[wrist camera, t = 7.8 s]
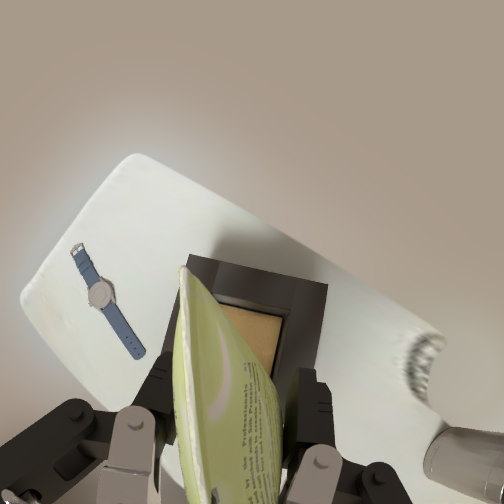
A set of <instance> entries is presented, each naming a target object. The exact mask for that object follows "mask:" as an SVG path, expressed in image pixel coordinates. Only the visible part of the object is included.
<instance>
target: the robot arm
mask: <svg viewBox="0 0 504 504" xmlns="http://www.w3.org/2000/svg"><path fill="white" fill-rule="evenodd" d="M332 413H333V407H332V395H331V392H330V390H329V388H328V386H327V385H326V383H322V382H317V378H316V370H315V369H311V368H304V367H297V368H296V370H295V373H294V376H293V378H292V381H291V384H290V386H289V389H288V392H287V396H286V401H285V414H284V428H283V463H282V468H284V469H287V478H286V479H285V481H284V483H283V485H282V487H281V490H280V493H279V501H278V504H413V503H412V502H411V500H410V498H409V496H408V494H407V492H406V490H405V488H404V487H403V485H402V483H401V481H400V479H399V477H398V476H397V474H396V472H395V470H394V469H393V468H392V467H391V466H390V465H389V464H387V463H384V462H374V463H371V464H369V465H368V466H367V467H366V466H363V465H360V464H356V463H353V462H350V461H348V460H346V459H344V458H343V457H342V456H341V455H340V453H339V452H338V451H337V449H336V446H335V434H334V420H333V414H332ZM176 435H177V432H176V422H175V412H174V400H173V352H170V351H166V352H164V353H163V354H162V355H160V356H159V357H158V358H157V359H156V361H155V363H154V365H153V367H152V368H151V370H150V372H149V374H148V376H147V377H146V379H145V381H144V383H143V385H142V386H141V388H140V390H139V392H138V394H137V396H136V397H135V399H134V401H133V403H132V404H131V405H130V406H128V407H125V408H123V409H121V410H120V411H119V412H105V411H97V410H93V408H92V407H91V405H90V404H89V403H88V402H86V401H84V400H82V399H76V398H75V399H69V400H67V401H65V402H64V403H62V404H61V405H59V406H58V407H56V408H55V409H54V410H52V411H51V412H49V413H48V414H47V415H45V416H44V417H42V418H41V419H40V420H38V421H37V422H35V423H34V424H32V425H31V426H30V427H28V428H27V429H25V430H24V431H22V432H21V433H20V434H18V435H17V436H16V437H14V438H13V439H11V440H10V441H8V442H7V443H5V444H4V445H2V446H1V447H0V504H52V503H54V502H55V501H56V500H57V499H59V498H60V497H61V496H62V495H63V494H65V493H66V492H67V491H68V490H70V489H71V488H72V487H73V486H74V485H76V484H77V483H78V482H79V481H80V480H82V479H83V478H84V477H85V476H86V475H88V474H89V473H90V472H91V471H92V470H93V469H95V468H96V467H97V466H98V465H99V464H100V463H102V462H103V461H104V460H108V462H107V465H106V466H104V467H103V468H102V470H101V473H100V478H99V485H98V492H97V501H96V504H161V499H160V479H161V478H160V476H161V454H162V451H163V449H164V446H165V444H169V445H172V446H173V443H174V441H175V438H176ZM424 472H425V475H426V476H427V477H428V478H429V479H431V480H433V481H435V482H437V483H439V484H442V485H444V486H446V487H448V488H451V489H453V490H455V491H458V492H460V493H463V494H465V495H468V496H470V497H473V498H475V499H478V500H481V501H484V502H486V503H490V504H504V433H500V432H490V431H482V430H474V429H467V428H461V427H452V428H449V429H447V430H445V431H443V432H442V433H441V434H440V435H439V436H438V437H437V438H436V439H435V440H434V441H433V443H432V444H431V446H430V447H429V449H428V451H427V454H426V456H425V460H424Z"/></svg>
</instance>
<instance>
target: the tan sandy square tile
mask: <svg viewBox="0 0 504 504" xmlns="http://www.w3.org/2000/svg"><path fill="white" fill-rule="evenodd" d="M219 305H220V306H221V308H222V309H223V310H224V311H225V313H226V314H227V316H228V317H229V318H230V320H231V321H232V323H233V324H234V325H235V327H236V328H237V329H238V331H239V332H240V334H241V335H242V336H243V338H244V339H245V340H246V342H247V344H248V345H249V347H250V348H251V350H252V351H253V353H254V354H255V356H256V357H257V359H258V360H259V362H260V363H261V365H262V366H263V368H264V369H265V370H266V372H267V374H268V375H269V377H270V373H271V369H272V364H273V360H274V355H275V351H276V346H277V341H278V337H279V332H280V327H281V322H282V318H281V317H276V316H271V315H266V314H262V313H257V312H253V311H248V310H244V309H239V308H235V307H231V306H227V305H222V304H219Z"/></svg>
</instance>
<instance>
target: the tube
mask: <svg viewBox="0 0 504 504" xmlns="http://www.w3.org/2000/svg"><path fill="white" fill-rule="evenodd" d="M179 287H180V310H179V315H178V319H177V325H176V332H175V339H174V349H173V400H174V412H175V422H176V432H177V440H178V448H179V456H180V463H181V469H182V474H183V480H184V486H185V492H186V498H187V503H188V504H278V501H279V493H280V484H281V474H282V463H283V416H282V408H281V403H280V399H279V396H278V393H277V390H276V388H275V386H274V384H273V382H272V380H271V379H270V377H269V375H268V374H267V372H266V370H265V369H264V368H263V366H262V365H261V363H260V362H259V360H258V359H257V357H256V356H255V354H254V353H253V351H252V350H251V348H250V347H249V345H248V344H247V342H246V340H245V339H244V338H243V336H242V335H241V334H240V332H239V331H238V329H237V328H236V327H235V325H234V324H233V323H232V321H231V320H230V318H229V317H228V316H227V314H226V313H225V311H224V310H223V309H222V308H221V306H220V305H219V304H218V302H217V301H216V300H215V298H214V297H213V296H212V295H211V294H210V292H209V291H208V290H207V289H206V287H205V286H204V285H203V284H202V283H201V281H200V280H199V279H198V278H197V277H196V276H194V275H193V274H192V273H191V272H190V270H189V269H188V268H187V267H186V266H185V265H183V266H181V267H180V269H179Z"/></svg>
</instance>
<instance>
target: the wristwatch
mask: <svg viewBox="0 0 504 504" xmlns="http://www.w3.org/2000/svg"><path fill="white" fill-rule="evenodd" d="M81 245H82V243H80V244H77V245H75V246H74V247H73V249H72V250H71V252H70V254H71V256H72V257H73V258H74V260H75V262H76V266H77V268H79V272H80V274H81V275H82V276H83V278H84V280H85V282H86V284H87V285H88V287H87V289H88V299H89V303H88V304H89V305H90V306H93V307H94V308H96V309H97V310H99V311H100V312H101V313H104V315H105V317H106V318H107V320H108V321H109V323H110V324H111V326H112V328H113V329H114V331H115V332H116V334H117V335H118V337H119V338H120V340H121V341H122V343H123V344H124V346H125V347H126V348H127V350H128V351H129V353H130V354H131V355H132V357H133V358H134V359H135V360H139V359H140V358H142V357H143V356H144V355H145V352H146V351H145V349H144V347H143V346H142V345H141V343H140V342H139V340H138V339H137V337H136V336H135V334H134V333H133V331H132V330H131V328H130V327H129V325H128V324H127V322H126V320H125V319H124V317H123V316H122V314H121V313H120V311H119V309H118V308H117V306H116V301H115V297H114V291H113V288H112V286H111V285H110V284H108V283H107V282H105V281H104V280H103V279H102V278H100V277H99V276H98V274H97V272H96V271H95V269H94V267H93V264H92V262H91V261H90V260H89V259H90V258H89V257H88V255H87V254H86V252H85V250H84V247H83V245H82V247H83V249H82V250H80V251H79V252H78V251H77V250H76V249H77V248H78V247H80V246H81ZM75 250H76V251H77V252H78V253H77V254H76V255H75V256H73V255H72V253H73V252H74V251H75ZM111 301H112V302H111ZM101 308H104V309H103V310H101ZM127 337H128V338H127ZM131 342H132V343H131ZM135 348H136V349H135ZM138 354H139V355H138Z"/></svg>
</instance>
